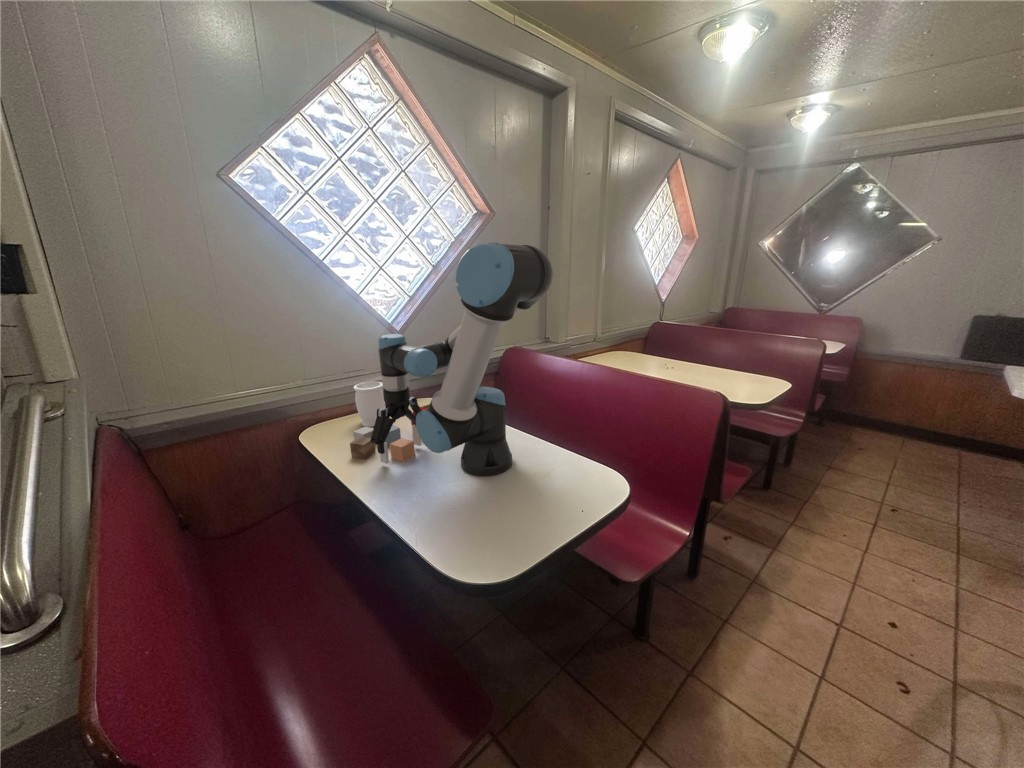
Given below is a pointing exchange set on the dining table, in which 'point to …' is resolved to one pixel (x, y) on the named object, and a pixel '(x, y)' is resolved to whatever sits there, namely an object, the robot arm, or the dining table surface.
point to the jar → (369, 401)
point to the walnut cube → (362, 448)
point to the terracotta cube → (402, 450)
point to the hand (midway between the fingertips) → (401, 453)
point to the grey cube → (363, 432)
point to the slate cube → (393, 435)
